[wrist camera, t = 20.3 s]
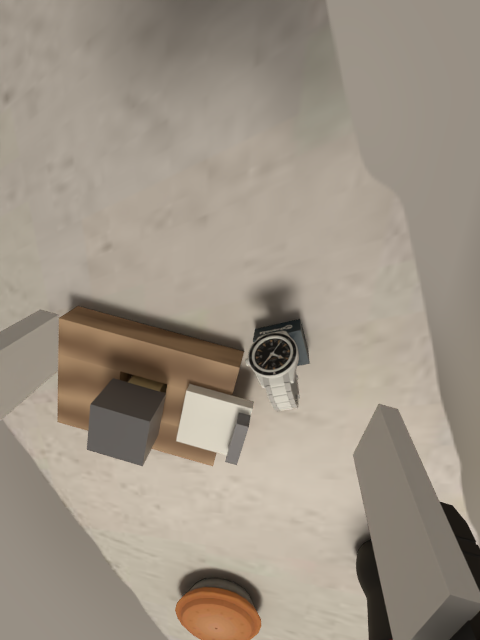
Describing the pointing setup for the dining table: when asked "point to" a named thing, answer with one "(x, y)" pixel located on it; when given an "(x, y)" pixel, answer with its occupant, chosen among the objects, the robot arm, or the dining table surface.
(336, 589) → the dining table surface
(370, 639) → the cola bottle
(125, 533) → the dining table surface
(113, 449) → the plug
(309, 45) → the dining table surface
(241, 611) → the pie
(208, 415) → the plate
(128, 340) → the socket board
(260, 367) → the watch
